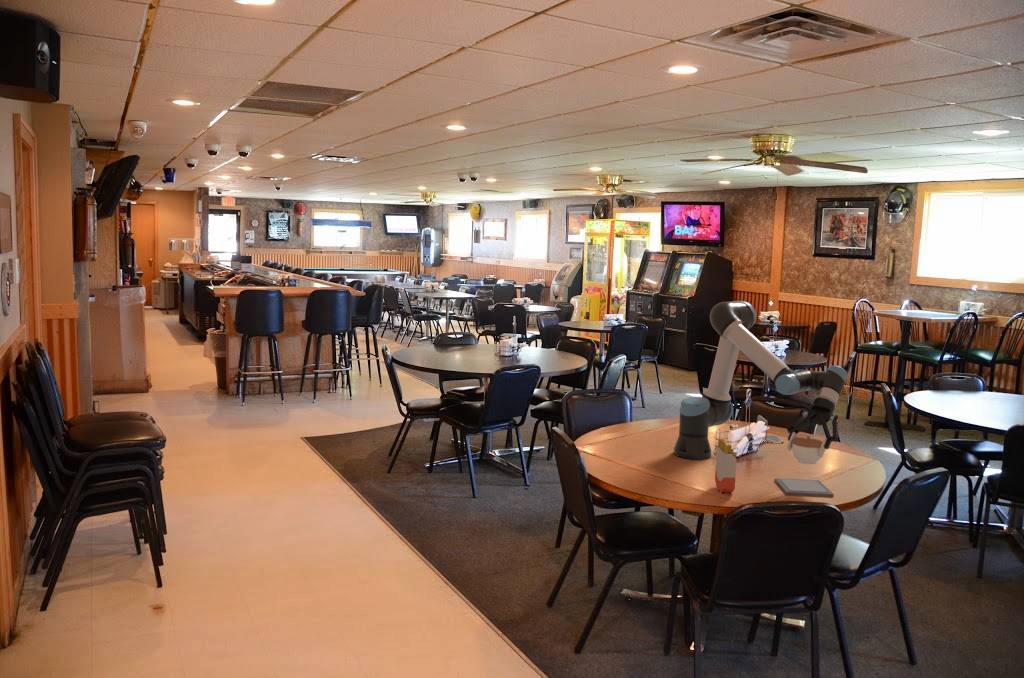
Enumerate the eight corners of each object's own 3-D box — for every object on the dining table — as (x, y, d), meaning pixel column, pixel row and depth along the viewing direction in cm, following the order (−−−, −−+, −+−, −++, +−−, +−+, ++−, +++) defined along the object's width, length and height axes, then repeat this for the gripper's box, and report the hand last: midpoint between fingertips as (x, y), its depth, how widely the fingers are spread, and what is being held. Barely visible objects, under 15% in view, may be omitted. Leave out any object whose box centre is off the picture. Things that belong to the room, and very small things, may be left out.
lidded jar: (826, 467, 271) (828, 440, 270) (794, 465, 272) (796, 439, 271) (818, 458, 281) (820, 433, 280) (787, 457, 283) (789, 432, 281)
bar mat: (786, 494, 271) (786, 491, 271) (774, 480, 287) (774, 477, 287) (833, 496, 270) (833, 493, 270) (818, 482, 286) (818, 479, 286)
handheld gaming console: (784, 443, 342) (785, 421, 341) (763, 443, 343) (765, 421, 341) (774, 436, 356) (776, 415, 354) (754, 435, 356) (756, 414, 354)
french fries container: (727, 485, 280) (729, 437, 278) (735, 495, 269) (738, 445, 267) (714, 485, 280) (717, 437, 278) (722, 495, 269) (725, 444, 267)
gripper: (859, 414, 278) (839, 464, 268) (796, 404, 294) (775, 451, 284) (855, 401, 273) (834, 452, 264) (791, 392, 289) (770, 439, 280)
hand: (804, 452), depth 274 cm, fingers closed on lidded jar, 11 cm apart
